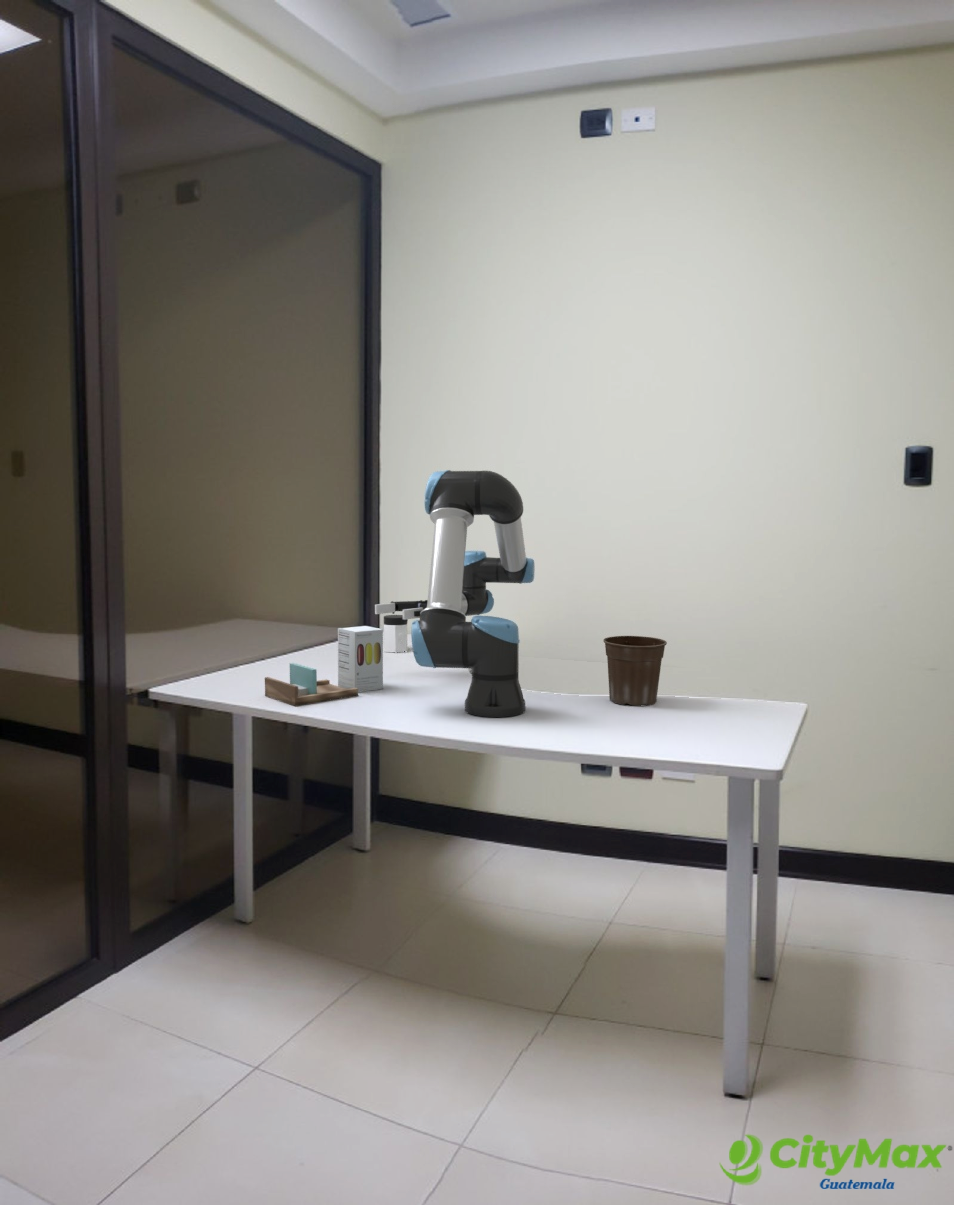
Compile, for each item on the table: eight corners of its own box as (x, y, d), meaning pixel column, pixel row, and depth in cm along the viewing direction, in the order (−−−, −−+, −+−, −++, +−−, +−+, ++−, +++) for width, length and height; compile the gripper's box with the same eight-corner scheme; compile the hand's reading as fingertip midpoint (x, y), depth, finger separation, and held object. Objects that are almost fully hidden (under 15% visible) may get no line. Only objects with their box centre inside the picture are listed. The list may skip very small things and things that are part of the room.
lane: (326, 686, 264) (326, 668, 263) (358, 696, 252) (357, 677, 251) (265, 695, 252) (264, 677, 251) (294, 706, 239) (294, 686, 239)
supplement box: (354, 693, 255) (354, 631, 253) (336, 687, 262) (336, 627, 260) (384, 688, 261) (383, 628, 259) (366, 683, 268) (365, 624, 266)
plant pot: (678, 703, 244) (680, 642, 242) (630, 711, 235) (632, 647, 233) (636, 692, 257) (637, 633, 255) (589, 699, 249) (590, 638, 247)
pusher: (294, 688, 255) (293, 662, 254) (316, 695, 246) (316, 669, 245) (282, 690, 252) (281, 664, 252) (304, 697, 243) (304, 671, 242)
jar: (389, 654, 317) (389, 618, 315) (378, 650, 323) (378, 615, 322) (413, 651, 321) (412, 616, 320) (401, 648, 328) (401, 614, 327)
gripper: (475, 622, 270) (415, 630, 257) (423, 613, 289) (364, 620, 276) (475, 596, 269) (415, 603, 256) (422, 589, 288) (364, 594, 275)
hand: (389, 612), depth 266 cm, fingers open, 13 cm apart
